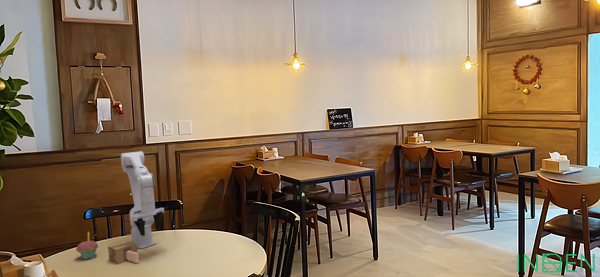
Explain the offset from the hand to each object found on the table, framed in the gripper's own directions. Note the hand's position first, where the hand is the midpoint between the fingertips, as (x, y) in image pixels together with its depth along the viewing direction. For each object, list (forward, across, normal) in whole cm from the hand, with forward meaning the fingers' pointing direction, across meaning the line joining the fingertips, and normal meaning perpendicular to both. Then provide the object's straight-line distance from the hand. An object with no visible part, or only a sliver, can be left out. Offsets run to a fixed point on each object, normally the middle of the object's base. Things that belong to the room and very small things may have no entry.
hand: (150, 232), depth 192 cm
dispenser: (+10, -9, +7) cm, 15 cm away
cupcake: (+10, -16, +24) cm, 30 cm away
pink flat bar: (+9, -9, +3) cm, 14 cm away
